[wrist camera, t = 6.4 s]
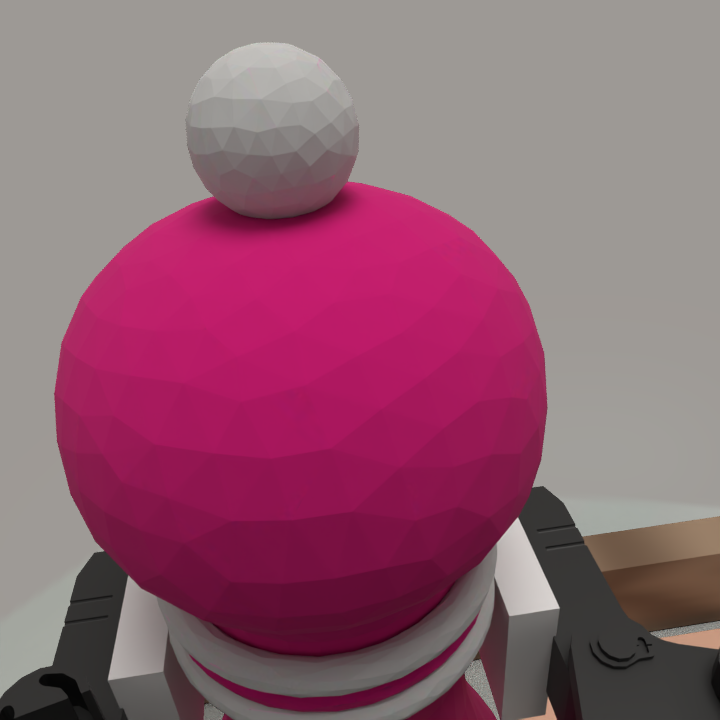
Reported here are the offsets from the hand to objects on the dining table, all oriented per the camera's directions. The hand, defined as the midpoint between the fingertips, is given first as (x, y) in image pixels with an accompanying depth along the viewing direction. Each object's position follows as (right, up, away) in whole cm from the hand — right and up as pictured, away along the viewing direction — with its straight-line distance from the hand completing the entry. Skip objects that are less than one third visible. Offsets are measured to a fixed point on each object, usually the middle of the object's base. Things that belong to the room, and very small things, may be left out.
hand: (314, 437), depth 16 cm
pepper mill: (+1, -12, +1) cm, 12 cm away
